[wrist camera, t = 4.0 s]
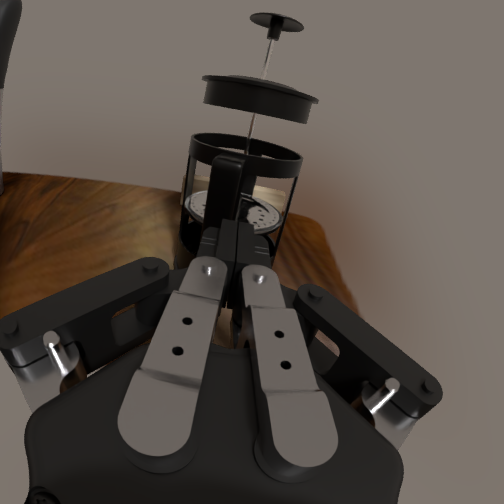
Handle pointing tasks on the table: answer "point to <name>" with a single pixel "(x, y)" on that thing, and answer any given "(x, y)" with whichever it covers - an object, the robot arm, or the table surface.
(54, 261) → the table surface
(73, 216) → the table surface
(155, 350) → the robot arm
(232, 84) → the french press
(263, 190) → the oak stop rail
